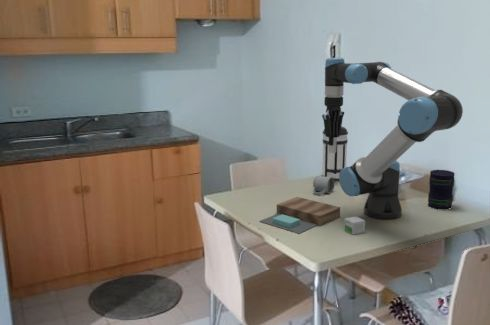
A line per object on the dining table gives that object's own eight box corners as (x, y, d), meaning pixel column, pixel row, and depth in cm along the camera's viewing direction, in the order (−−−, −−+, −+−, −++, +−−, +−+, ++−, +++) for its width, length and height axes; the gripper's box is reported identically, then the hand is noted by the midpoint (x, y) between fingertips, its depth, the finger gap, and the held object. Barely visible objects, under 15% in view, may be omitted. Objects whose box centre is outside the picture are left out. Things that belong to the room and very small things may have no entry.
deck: (339, 216, 208) (340, 207, 207) (320, 225, 198) (320, 216, 197) (297, 205, 223) (297, 196, 222) (276, 213, 213) (276, 204, 212)
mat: (317, 225, 199) (317, 224, 199) (299, 233, 190) (299, 233, 190) (278, 214, 212) (278, 213, 212) (259, 221, 204) (259, 221, 204)
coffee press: (312, 178, 265) (312, 121, 258) (334, 173, 274) (336, 118, 267) (335, 185, 251) (336, 125, 244) (358, 180, 260) (360, 122, 253)
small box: (343, 230, 194) (344, 218, 192) (356, 227, 196) (356, 215, 195) (352, 235, 189) (353, 222, 187) (365, 232, 191) (365, 220, 190)
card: (290, 223, 195) (290, 228, 195) (300, 219, 199) (300, 224, 199) (272, 218, 201) (272, 222, 201) (282, 214, 205) (282, 219, 206)
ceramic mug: (319, 188, 247) (319, 173, 245) (334, 191, 243) (335, 175, 241) (309, 194, 239) (309, 178, 237) (324, 197, 234) (324, 181, 233)
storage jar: (456, 206, 218) (459, 172, 214) (444, 211, 212) (446, 177, 208) (435, 201, 225) (438, 168, 222) (422, 205, 219) (425, 172, 216)
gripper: (335, 94, 215) (333, 148, 220) (316, 97, 205) (316, 154, 211) (350, 95, 210) (348, 151, 215) (332, 98, 200) (331, 156, 206)
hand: (332, 152), depth 213 cm, fingers closed
